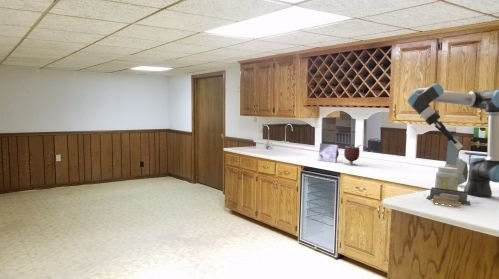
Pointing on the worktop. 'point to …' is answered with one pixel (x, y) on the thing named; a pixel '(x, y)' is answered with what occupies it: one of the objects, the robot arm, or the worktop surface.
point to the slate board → (452, 152)
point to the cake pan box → (328, 153)
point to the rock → (460, 170)
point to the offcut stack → (447, 199)
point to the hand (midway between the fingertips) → (460, 147)
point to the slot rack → (439, 191)
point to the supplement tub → (447, 178)
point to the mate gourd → (351, 154)
